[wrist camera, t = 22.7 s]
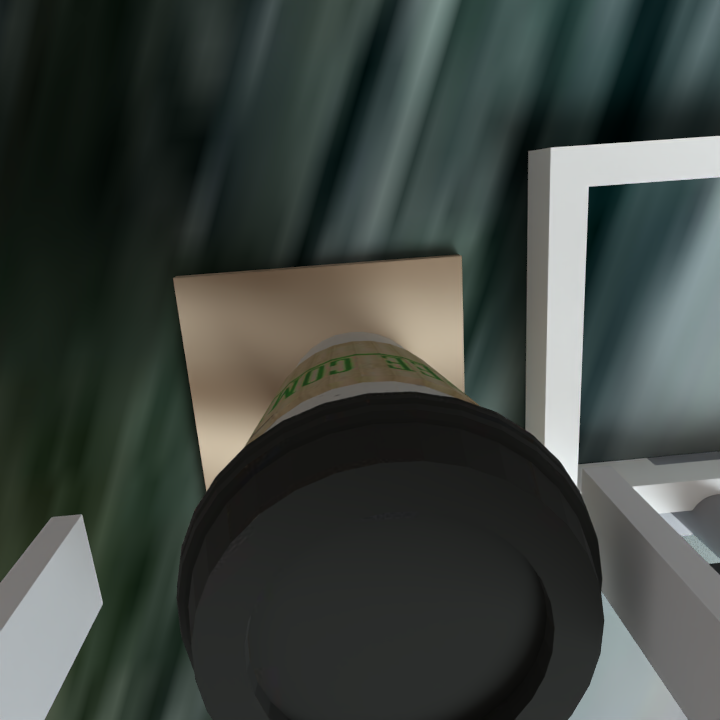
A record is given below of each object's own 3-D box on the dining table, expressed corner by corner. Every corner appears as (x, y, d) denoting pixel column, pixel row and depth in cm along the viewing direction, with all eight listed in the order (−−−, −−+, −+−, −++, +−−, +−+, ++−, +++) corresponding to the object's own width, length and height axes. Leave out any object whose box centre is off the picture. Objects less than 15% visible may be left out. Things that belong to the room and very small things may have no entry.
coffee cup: (432, 258, 25) (585, 354, 11) (490, 460, 28) (671, 752, 14) (211, 331, 25) (69, 522, 11) (289, 524, 28) (258, 879, 14)
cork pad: (176, 276, 25) (173, 278, 25) (458, 254, 26) (461, 256, 25) (215, 526, 29) (213, 533, 28) (463, 503, 29) (466, 509, 29)
